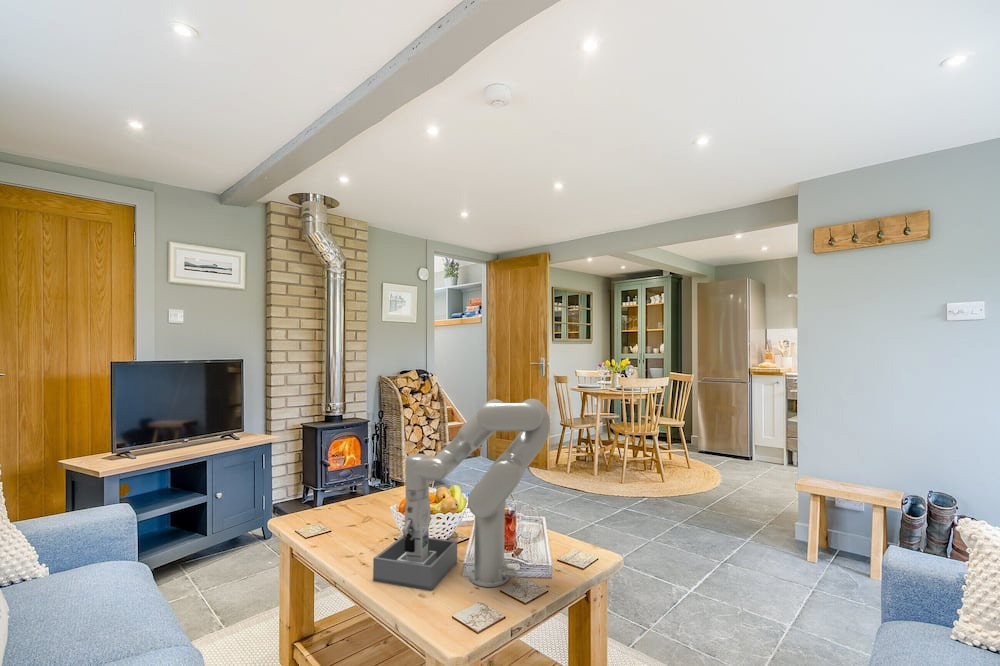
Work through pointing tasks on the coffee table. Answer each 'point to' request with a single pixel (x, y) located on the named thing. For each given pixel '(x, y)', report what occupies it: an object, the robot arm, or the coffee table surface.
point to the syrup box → (420, 546)
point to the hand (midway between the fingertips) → (417, 545)
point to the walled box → (415, 564)
